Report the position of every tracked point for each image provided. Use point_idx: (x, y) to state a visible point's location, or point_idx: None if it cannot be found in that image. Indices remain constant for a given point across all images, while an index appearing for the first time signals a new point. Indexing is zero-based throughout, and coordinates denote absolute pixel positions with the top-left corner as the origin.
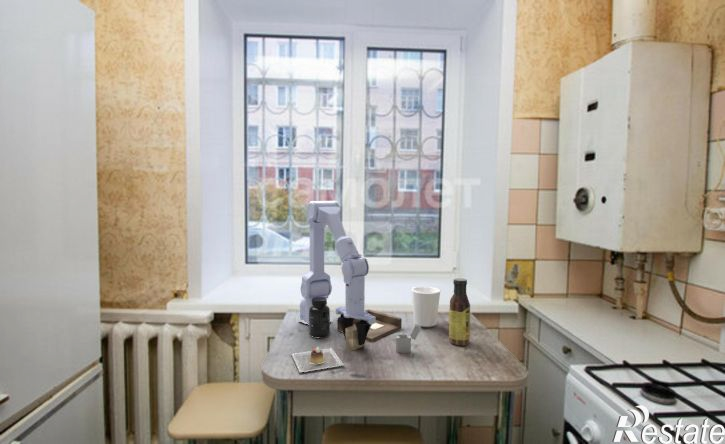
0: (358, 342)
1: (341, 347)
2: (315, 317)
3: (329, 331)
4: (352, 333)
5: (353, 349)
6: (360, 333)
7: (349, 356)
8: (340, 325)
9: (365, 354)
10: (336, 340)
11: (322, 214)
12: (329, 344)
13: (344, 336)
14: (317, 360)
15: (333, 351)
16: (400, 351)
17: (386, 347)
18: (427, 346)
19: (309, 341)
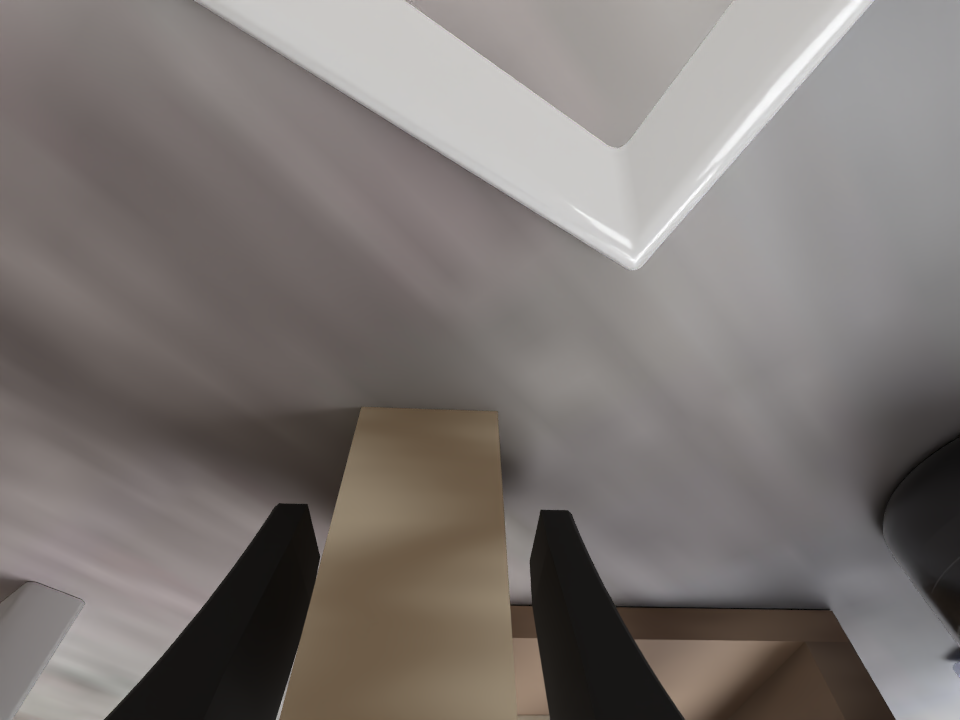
0: (291, 533)
1: (547, 389)
2: None
3: (905, 564)
4: (305, 659)
5: (360, 422)
6: (120, 715)
7: (223, 245)
8: (823, 676)
9: (152, 412)
10: (725, 480)
11: None
12: (757, 365)
13: (579, 554)
14: None
15: (514, 178)
16: (5, 602)
17: (190, 597)
18: (35, 703)
19: None
